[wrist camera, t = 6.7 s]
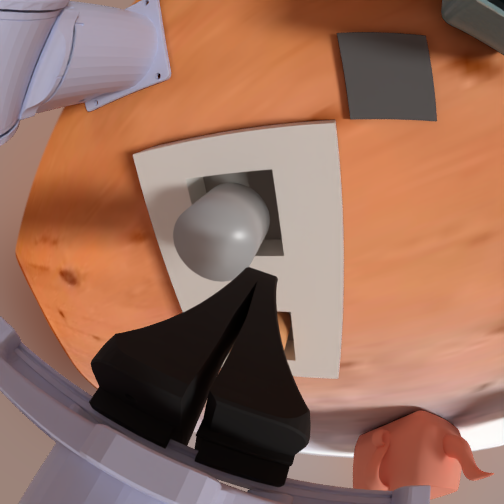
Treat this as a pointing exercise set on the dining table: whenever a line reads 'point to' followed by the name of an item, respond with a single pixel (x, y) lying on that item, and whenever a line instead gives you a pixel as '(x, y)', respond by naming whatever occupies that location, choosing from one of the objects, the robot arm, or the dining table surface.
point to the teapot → (414, 456)
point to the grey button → (222, 231)
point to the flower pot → (477, 19)
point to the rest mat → (388, 76)
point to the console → (280, 229)
